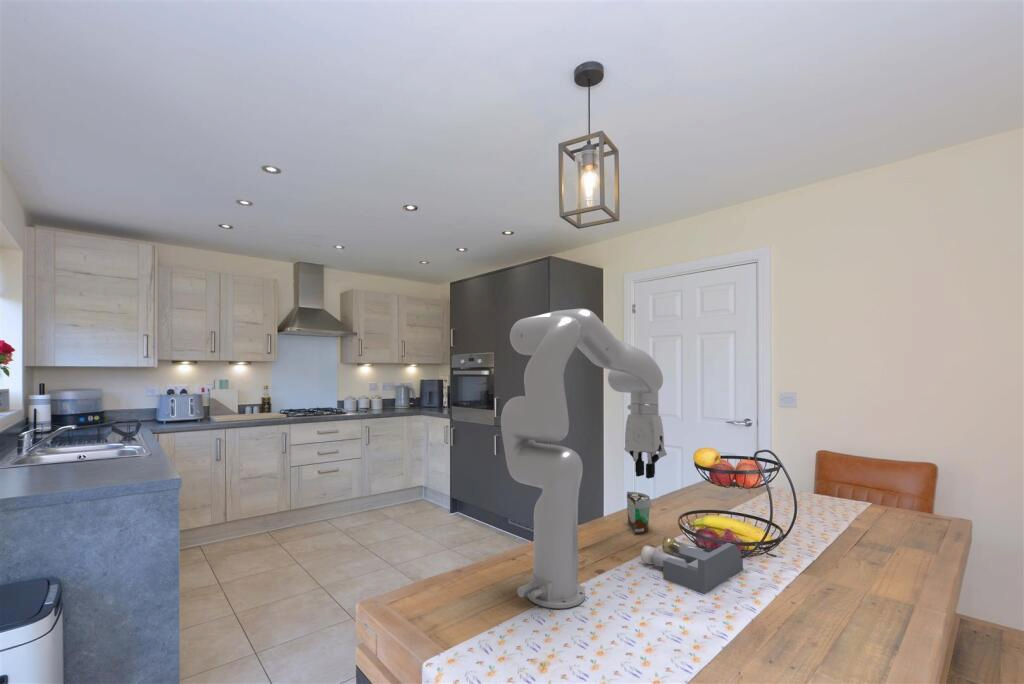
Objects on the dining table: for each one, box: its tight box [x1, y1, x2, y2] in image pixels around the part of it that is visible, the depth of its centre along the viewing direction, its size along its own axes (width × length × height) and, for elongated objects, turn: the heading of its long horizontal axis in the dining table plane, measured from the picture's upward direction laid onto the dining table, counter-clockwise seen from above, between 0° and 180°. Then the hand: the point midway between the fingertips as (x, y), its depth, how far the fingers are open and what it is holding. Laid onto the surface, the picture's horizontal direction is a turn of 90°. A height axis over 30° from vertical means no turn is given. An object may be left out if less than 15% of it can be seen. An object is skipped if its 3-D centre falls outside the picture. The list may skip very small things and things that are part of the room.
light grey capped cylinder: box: [640, 545, 686, 567], centre depth 117 cm, size 4×10×4 cm, turn 42°
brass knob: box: [661, 536, 706, 556], centre depth 124 cm, size 4×10×4 cm, turn 42°
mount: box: [662, 537, 744, 594], centre depth 115 cm, size 20×10×7 cm, turn 132°
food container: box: [626, 491, 653, 536], centre depth 147 cm, size 12×6×10 cm, turn 179°
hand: (645, 476), depth 133 cm, fingers open, 2 cm apart
